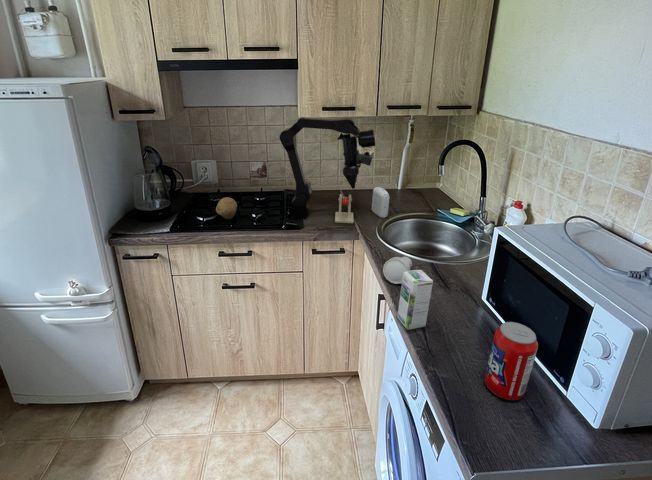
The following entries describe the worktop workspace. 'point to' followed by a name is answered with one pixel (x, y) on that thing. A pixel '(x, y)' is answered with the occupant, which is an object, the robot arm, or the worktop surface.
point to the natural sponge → (226, 207)
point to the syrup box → (414, 299)
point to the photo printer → (380, 202)
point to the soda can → (511, 360)
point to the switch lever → (345, 201)
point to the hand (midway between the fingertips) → (354, 185)
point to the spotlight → (396, 269)
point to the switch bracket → (344, 213)
